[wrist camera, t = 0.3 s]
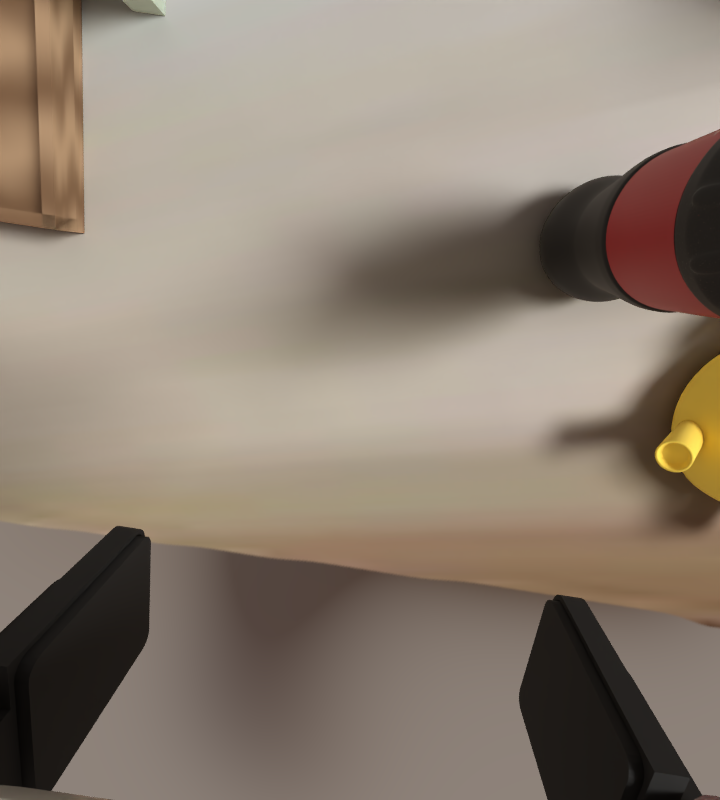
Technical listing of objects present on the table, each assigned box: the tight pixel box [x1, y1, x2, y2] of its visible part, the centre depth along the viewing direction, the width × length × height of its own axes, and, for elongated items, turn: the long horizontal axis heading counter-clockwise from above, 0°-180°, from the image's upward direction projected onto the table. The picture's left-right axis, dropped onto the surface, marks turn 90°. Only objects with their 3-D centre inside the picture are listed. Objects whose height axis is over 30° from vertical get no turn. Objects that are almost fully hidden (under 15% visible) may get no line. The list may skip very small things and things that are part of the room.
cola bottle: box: [540, 129, 720, 318], centre depth 22 cm, size 8×8×30 cm
